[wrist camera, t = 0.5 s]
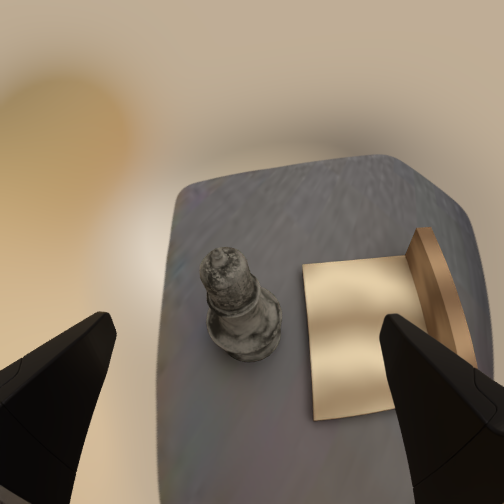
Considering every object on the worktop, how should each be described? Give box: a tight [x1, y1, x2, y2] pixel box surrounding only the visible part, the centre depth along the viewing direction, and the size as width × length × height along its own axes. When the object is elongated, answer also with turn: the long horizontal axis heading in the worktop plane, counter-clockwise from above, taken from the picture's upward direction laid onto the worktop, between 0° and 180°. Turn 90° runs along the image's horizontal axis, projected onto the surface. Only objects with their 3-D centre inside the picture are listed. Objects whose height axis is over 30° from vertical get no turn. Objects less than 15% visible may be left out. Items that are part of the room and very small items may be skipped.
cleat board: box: [303, 227, 478, 421], centre depth 20 cm, size 14×12×5 cm
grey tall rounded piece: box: [199, 247, 282, 362], centre depth 19 cm, size 6×6×12 cm
